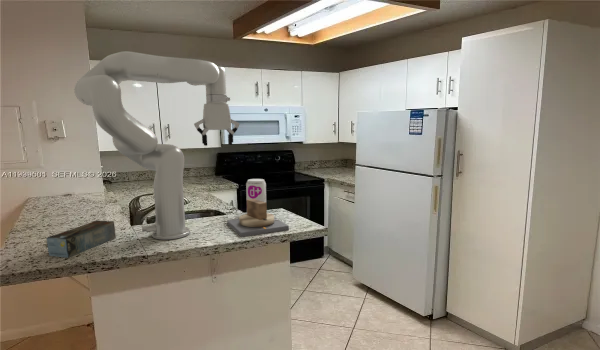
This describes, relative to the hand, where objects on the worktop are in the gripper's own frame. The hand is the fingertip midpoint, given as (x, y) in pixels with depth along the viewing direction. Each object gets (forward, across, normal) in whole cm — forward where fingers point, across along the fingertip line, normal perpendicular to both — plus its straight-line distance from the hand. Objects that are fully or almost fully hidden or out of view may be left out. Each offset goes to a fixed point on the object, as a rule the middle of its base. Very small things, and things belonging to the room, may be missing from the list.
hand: (218, 145), depth 139 cm
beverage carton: (+31, +46, +10) cm, 57 cm away
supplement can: (+31, -16, -2) cm, 34 cm away
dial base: (+30, -10, +15) cm, 35 cm away
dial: (+28, -10, +15) cm, 34 cm away
